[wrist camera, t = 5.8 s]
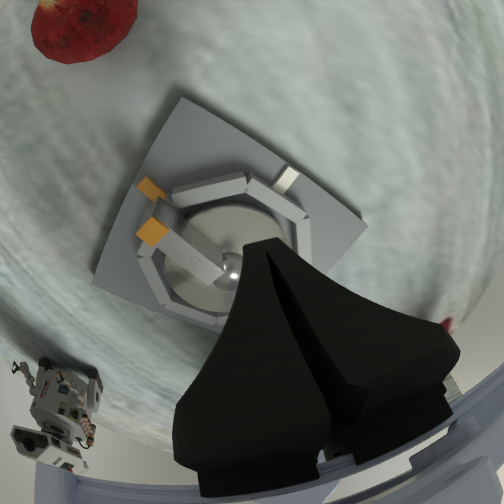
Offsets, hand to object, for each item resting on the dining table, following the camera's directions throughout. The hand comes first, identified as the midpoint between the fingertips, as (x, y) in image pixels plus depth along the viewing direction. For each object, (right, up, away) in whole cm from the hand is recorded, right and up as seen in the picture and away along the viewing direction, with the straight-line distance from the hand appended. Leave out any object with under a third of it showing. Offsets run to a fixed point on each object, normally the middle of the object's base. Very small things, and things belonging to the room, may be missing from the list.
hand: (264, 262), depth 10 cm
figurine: (-24, -14, +17) cm, 32 cm away
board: (-2, +1, +11) cm, 11 cm away
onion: (-10, +15, 0) cm, 17 cm away
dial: (-3, +1, +9) cm, 10 cm away
